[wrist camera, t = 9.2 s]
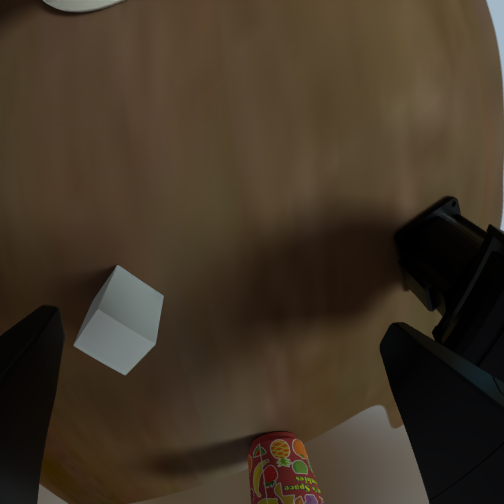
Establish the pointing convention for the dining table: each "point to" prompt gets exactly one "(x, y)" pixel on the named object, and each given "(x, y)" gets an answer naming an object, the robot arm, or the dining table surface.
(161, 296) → the grey block
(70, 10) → the coaster
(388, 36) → the dining table surface
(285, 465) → the smoothie
